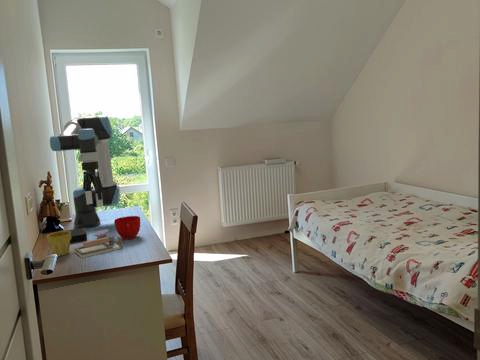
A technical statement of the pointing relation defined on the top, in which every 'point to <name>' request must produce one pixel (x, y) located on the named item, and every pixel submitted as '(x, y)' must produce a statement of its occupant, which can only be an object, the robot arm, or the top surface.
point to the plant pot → (60, 242)
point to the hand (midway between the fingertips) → (94, 205)
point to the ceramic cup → (128, 226)
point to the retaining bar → (98, 241)
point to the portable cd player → (77, 235)
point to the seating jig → (98, 248)
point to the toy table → (102, 233)
